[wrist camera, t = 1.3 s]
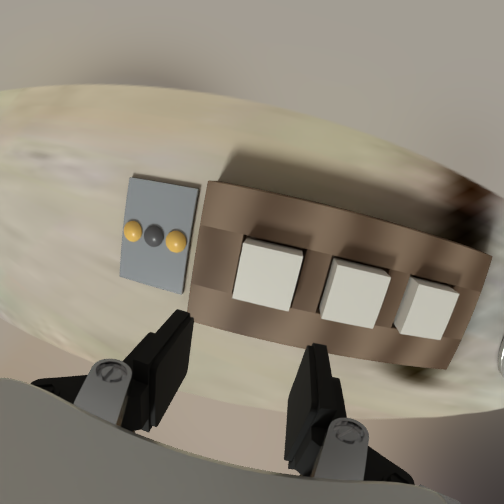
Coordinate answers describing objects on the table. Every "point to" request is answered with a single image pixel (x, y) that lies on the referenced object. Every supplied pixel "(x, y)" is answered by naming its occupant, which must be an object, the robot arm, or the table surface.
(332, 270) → the button middle
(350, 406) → the table surface
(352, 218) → the button board
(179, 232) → the card
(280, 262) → the button
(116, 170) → the table surface
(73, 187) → the table surface
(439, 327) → the button
